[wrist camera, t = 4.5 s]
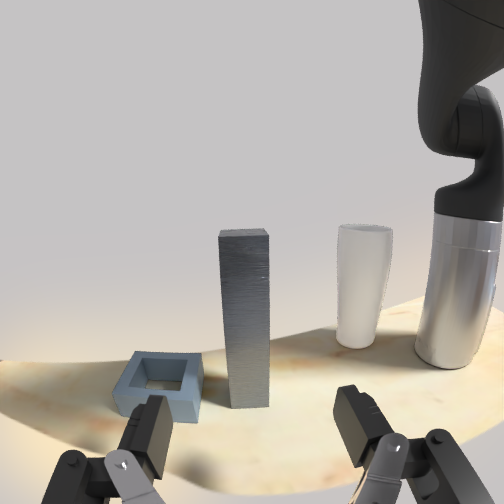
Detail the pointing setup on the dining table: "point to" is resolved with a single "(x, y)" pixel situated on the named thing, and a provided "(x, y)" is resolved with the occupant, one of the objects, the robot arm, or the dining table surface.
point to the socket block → (167, 369)
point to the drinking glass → (361, 281)
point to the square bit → (246, 314)
